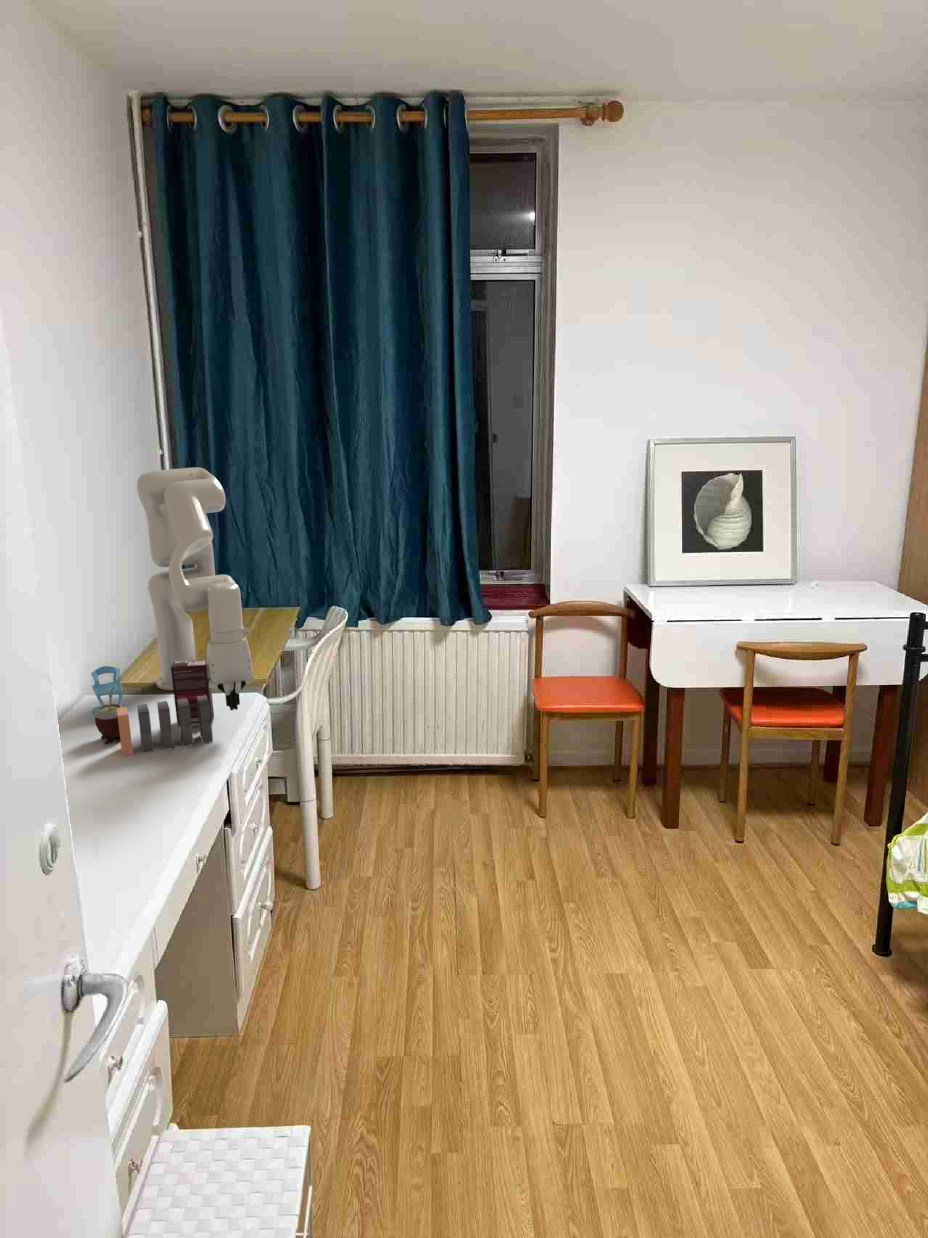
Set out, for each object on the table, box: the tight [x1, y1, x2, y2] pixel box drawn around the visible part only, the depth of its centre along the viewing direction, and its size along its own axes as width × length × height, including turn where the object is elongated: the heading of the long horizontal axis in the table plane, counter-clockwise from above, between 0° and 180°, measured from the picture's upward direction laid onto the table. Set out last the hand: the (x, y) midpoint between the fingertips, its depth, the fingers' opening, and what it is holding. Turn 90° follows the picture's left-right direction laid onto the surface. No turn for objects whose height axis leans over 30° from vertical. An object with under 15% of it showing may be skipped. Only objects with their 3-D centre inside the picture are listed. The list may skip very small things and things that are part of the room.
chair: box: [90, 665, 125, 714], centre depth 243 cm, size 8×8×12 cm
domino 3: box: [177, 698, 194, 747], centre depth 226 cm, size 5×2×10 cm, turn 23°
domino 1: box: [136, 703, 154, 754], centre depth 222 cm, size 5×2×10 cm, turn 23°
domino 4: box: [197, 695, 214, 744], centre depth 227 cm, size 5×2×10 cm, turn 23°
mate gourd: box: [94, 687, 121, 745], centre depth 226 cm, size 8×8×15 cm
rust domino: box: [117, 706, 134, 757], centre depth 221 cm, size 5×2×10 cm, turn 23°
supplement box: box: [171, 658, 215, 728], centre depth 236 cm, size 9×5×16 cm, turn 98°
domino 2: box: [156, 700, 175, 750], centre depth 224 cm, size 5×2×10 cm, turn 23°
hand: (233, 708), depth 229 cm, fingers closed
